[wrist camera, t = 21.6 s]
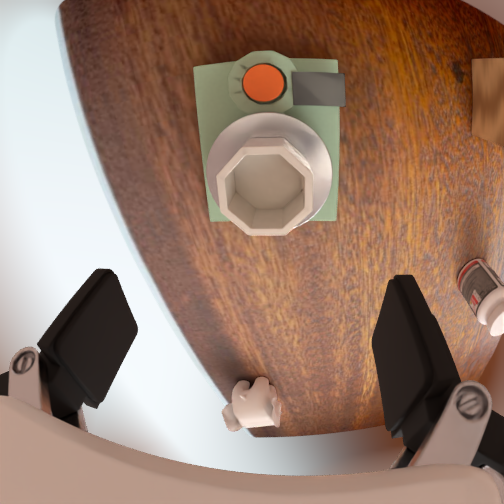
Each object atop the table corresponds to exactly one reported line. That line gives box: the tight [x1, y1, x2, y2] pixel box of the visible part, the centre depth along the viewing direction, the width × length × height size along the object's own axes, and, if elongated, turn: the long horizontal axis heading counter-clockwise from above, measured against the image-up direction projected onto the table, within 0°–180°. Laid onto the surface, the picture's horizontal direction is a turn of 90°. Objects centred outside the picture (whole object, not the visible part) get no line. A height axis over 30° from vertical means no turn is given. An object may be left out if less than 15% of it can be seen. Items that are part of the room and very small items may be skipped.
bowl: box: [216, 138, 313, 235], centre depth 22 cm, size 7×7×4 cm
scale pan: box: [206, 72, 346, 228], centre depth 23 cm, size 14×12×1 cm
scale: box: [193, 50, 340, 221], centre depth 24 cm, size 17×13×3 cm
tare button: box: [243, 64, 284, 102], centre depth 20 cm, size 3×3×2 cm
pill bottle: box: [457, 259, 504, 336], centre depth 26 cm, size 6×6×10 cm
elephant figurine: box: [222, 377, 282, 432], centre depth 43 cm, size 10×12×9 cm
